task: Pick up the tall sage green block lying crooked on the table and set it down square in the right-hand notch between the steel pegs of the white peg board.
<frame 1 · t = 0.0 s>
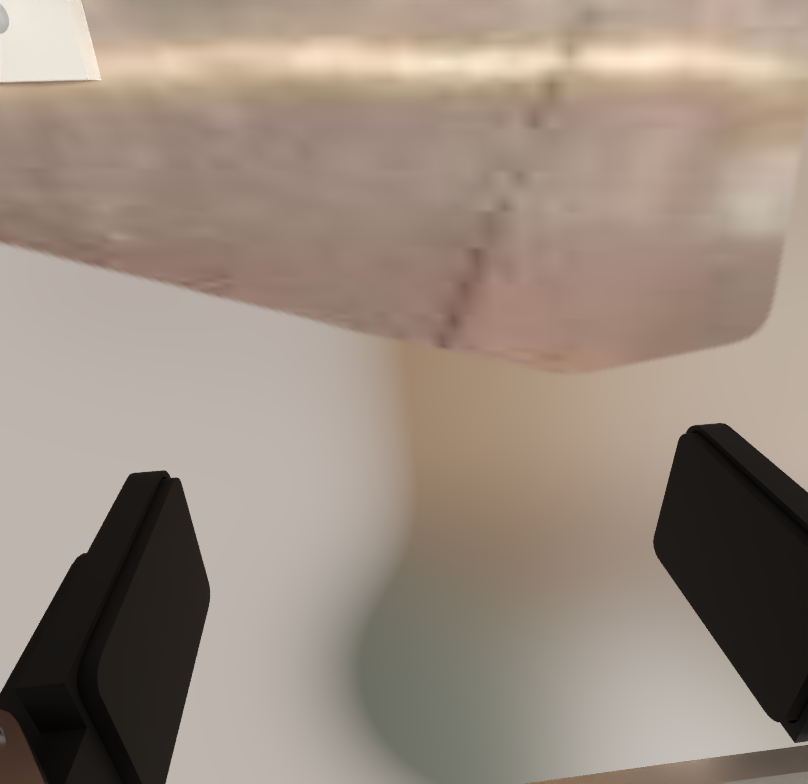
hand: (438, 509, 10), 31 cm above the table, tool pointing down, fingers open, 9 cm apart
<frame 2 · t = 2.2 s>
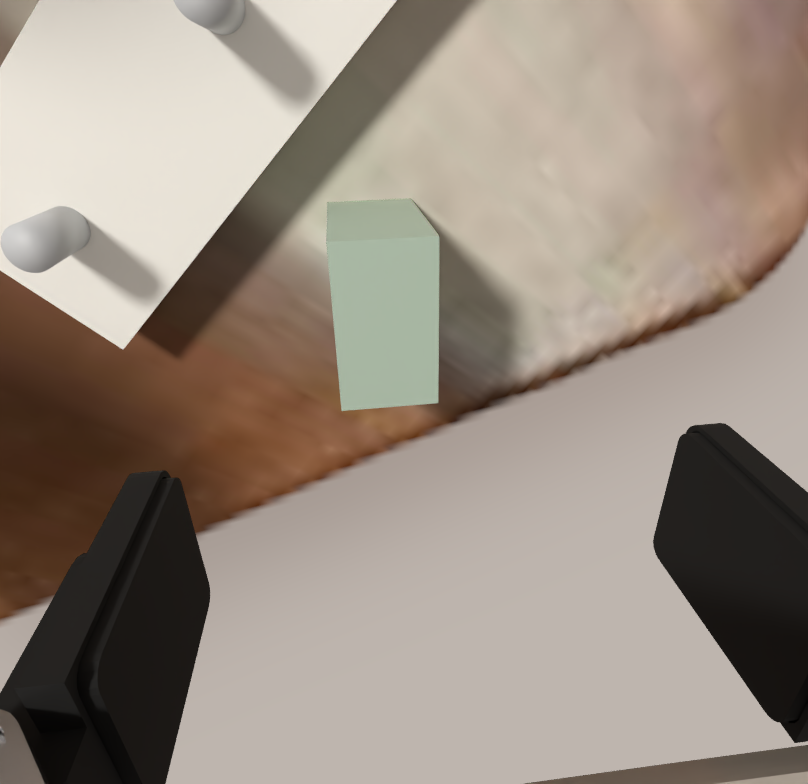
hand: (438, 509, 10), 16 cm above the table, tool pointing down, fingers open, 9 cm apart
white peg board: (229, 13, 19), on the table
tall sage green block: (373, 270, 25), on the table
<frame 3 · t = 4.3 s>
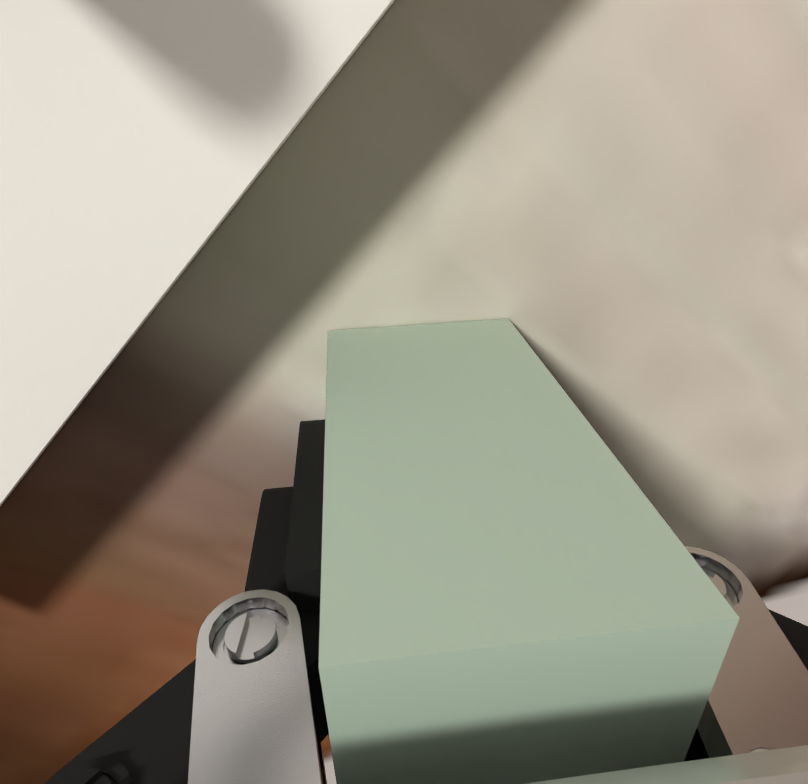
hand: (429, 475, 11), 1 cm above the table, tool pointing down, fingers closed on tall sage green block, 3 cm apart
tall sage green block: (421, 453, 12), on the table, touching gripper
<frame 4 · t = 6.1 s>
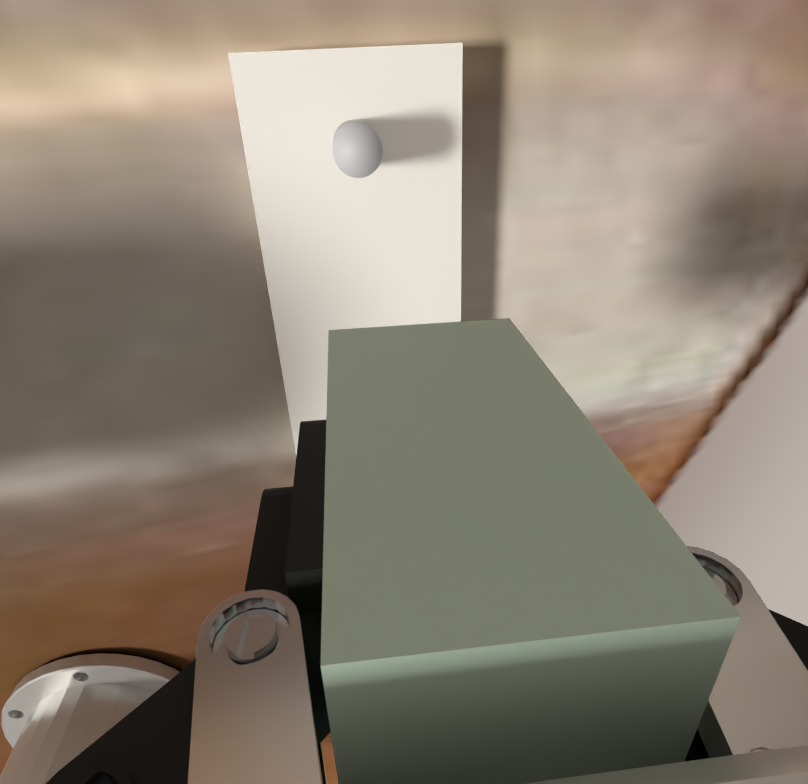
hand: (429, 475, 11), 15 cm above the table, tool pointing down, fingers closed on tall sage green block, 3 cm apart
white peg board: (370, 355, 27), on the table
tall sage green block: (421, 452, 12), point 14 cm above the table, touching gripper
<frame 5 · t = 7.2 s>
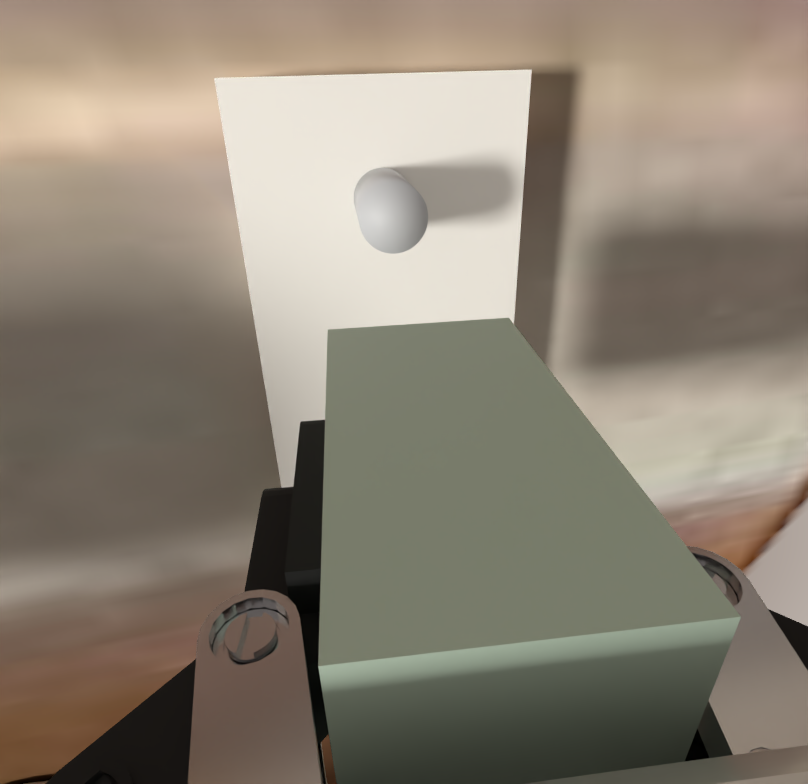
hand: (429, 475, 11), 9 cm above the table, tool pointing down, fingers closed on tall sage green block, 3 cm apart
white peg board: (389, 446, 21), on the table
tall sage green block: (421, 452, 12), point 8 cm above the table, touching gripper
when the fingers open (4 cm above the table, at t = 8.2 s): tall sage green block drops 1 cm, resting on white peg board.
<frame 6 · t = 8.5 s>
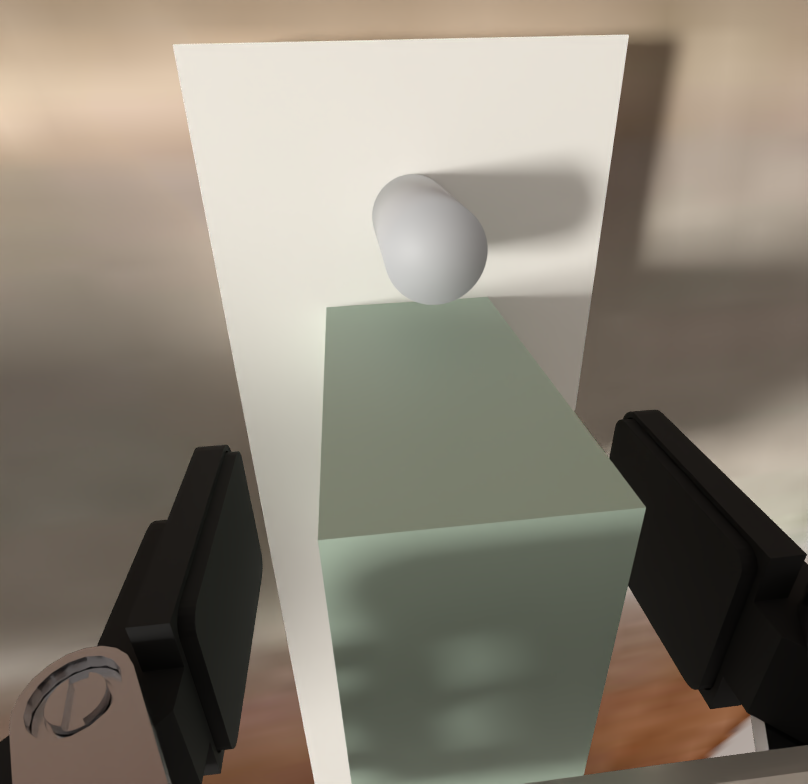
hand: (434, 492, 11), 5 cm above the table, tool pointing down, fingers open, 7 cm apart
white peg board: (409, 515, 17), on the table
tall sage green block: (411, 420, 13), point 2 cm above the table, touching white peg board
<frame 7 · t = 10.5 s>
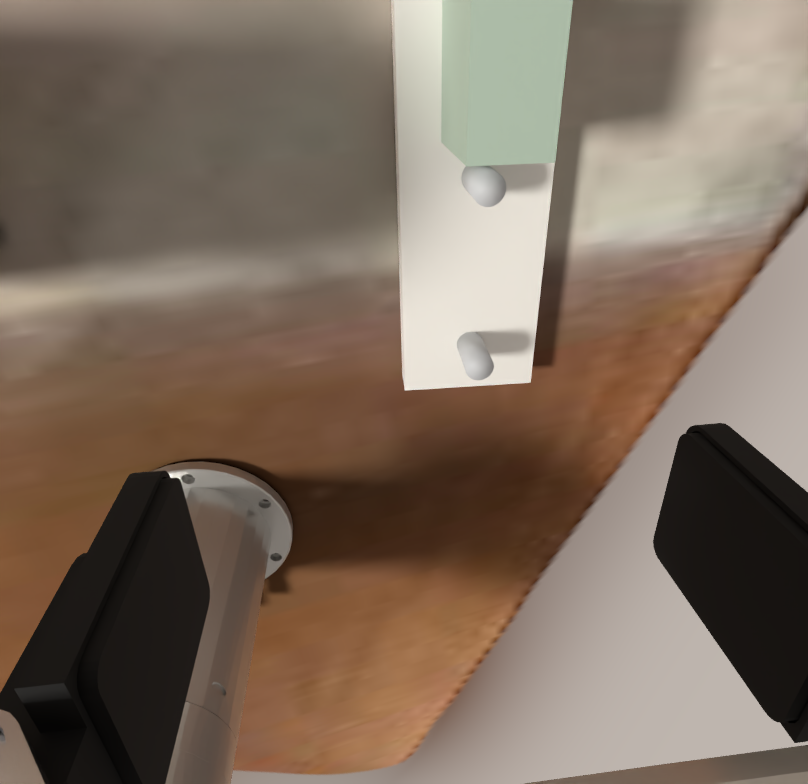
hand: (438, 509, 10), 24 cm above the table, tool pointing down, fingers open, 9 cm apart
white peg board: (469, 170, 30), on the table
tall sage green block: (478, 70, 26), point 2 cm above the table, touching white peg board
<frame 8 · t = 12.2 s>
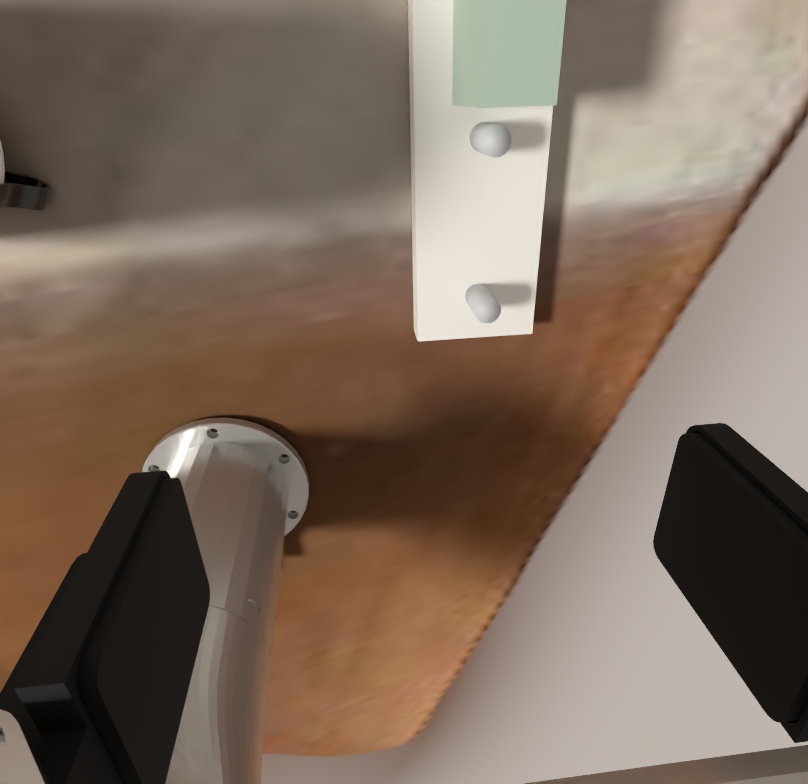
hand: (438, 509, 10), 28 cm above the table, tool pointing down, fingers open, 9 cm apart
white peg board: (475, 135, 34), on the table
tall sage green block: (485, 40, 30), point 2 cm above the table, touching white peg board
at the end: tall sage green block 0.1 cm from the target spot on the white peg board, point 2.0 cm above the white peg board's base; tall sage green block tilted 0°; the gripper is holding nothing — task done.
